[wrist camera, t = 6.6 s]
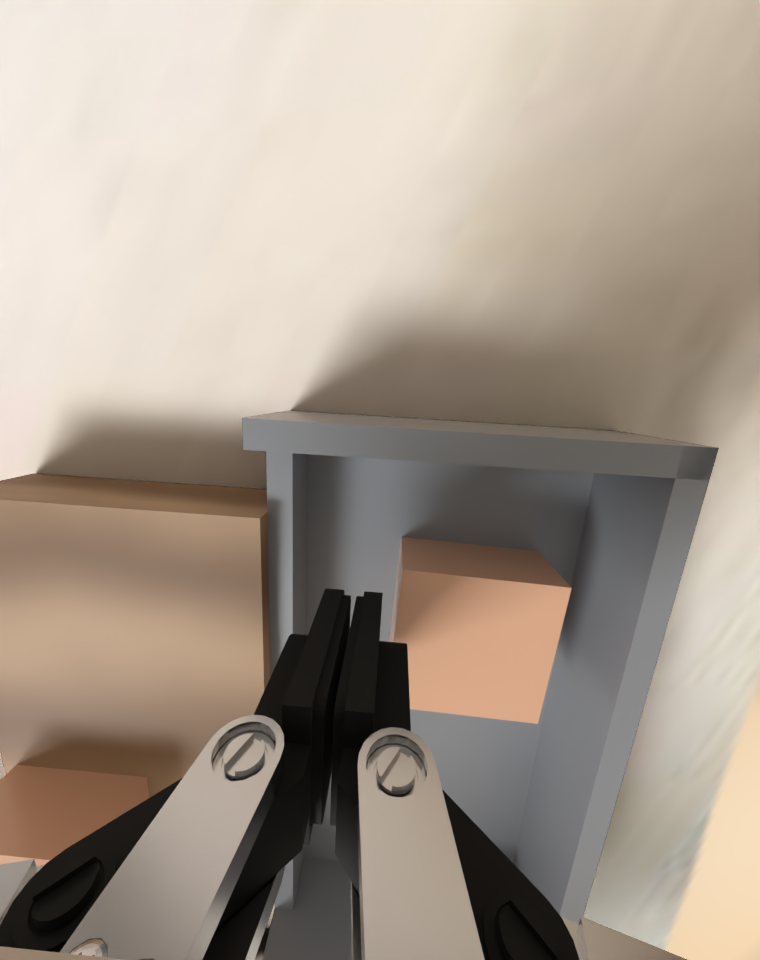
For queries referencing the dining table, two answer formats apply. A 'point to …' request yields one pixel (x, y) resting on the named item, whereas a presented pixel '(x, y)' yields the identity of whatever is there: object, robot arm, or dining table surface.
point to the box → (500, 523)
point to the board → (128, 621)
